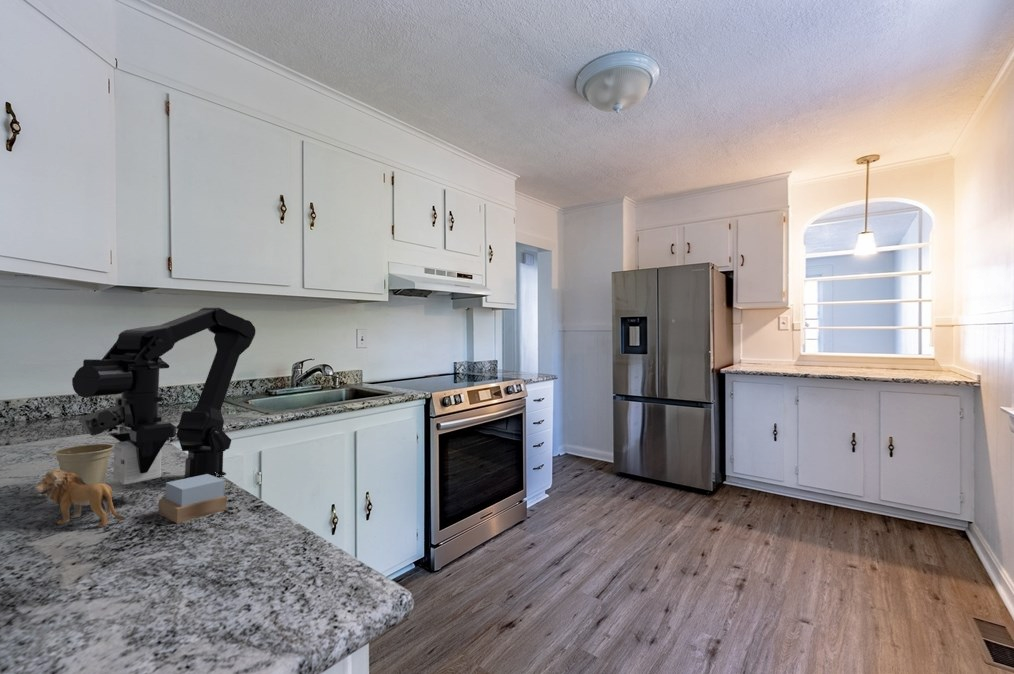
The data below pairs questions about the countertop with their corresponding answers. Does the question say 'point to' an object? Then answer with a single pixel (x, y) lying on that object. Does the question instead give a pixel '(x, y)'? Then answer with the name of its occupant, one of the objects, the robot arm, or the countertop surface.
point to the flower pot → (86, 461)
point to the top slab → (194, 489)
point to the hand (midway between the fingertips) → (137, 470)
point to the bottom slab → (191, 509)
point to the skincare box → (132, 465)
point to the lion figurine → (77, 495)
